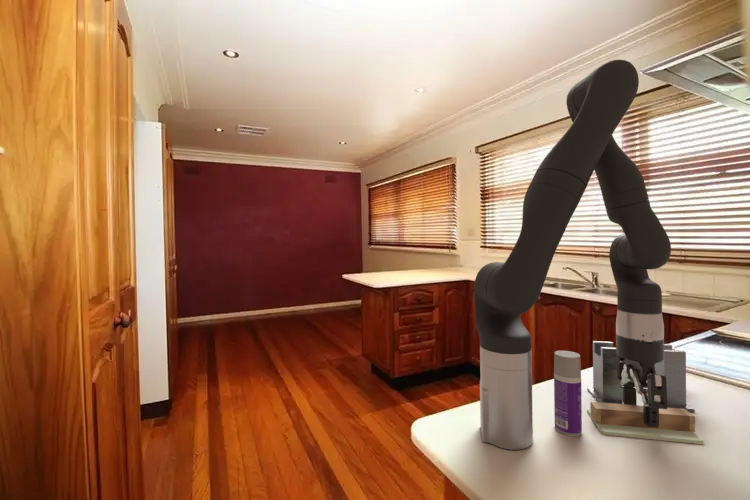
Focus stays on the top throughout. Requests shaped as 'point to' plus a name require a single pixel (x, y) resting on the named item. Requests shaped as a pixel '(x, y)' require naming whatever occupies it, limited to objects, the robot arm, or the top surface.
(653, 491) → the top surface
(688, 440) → the mat
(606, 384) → the post left
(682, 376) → the post right
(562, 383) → the container
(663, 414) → the rail
